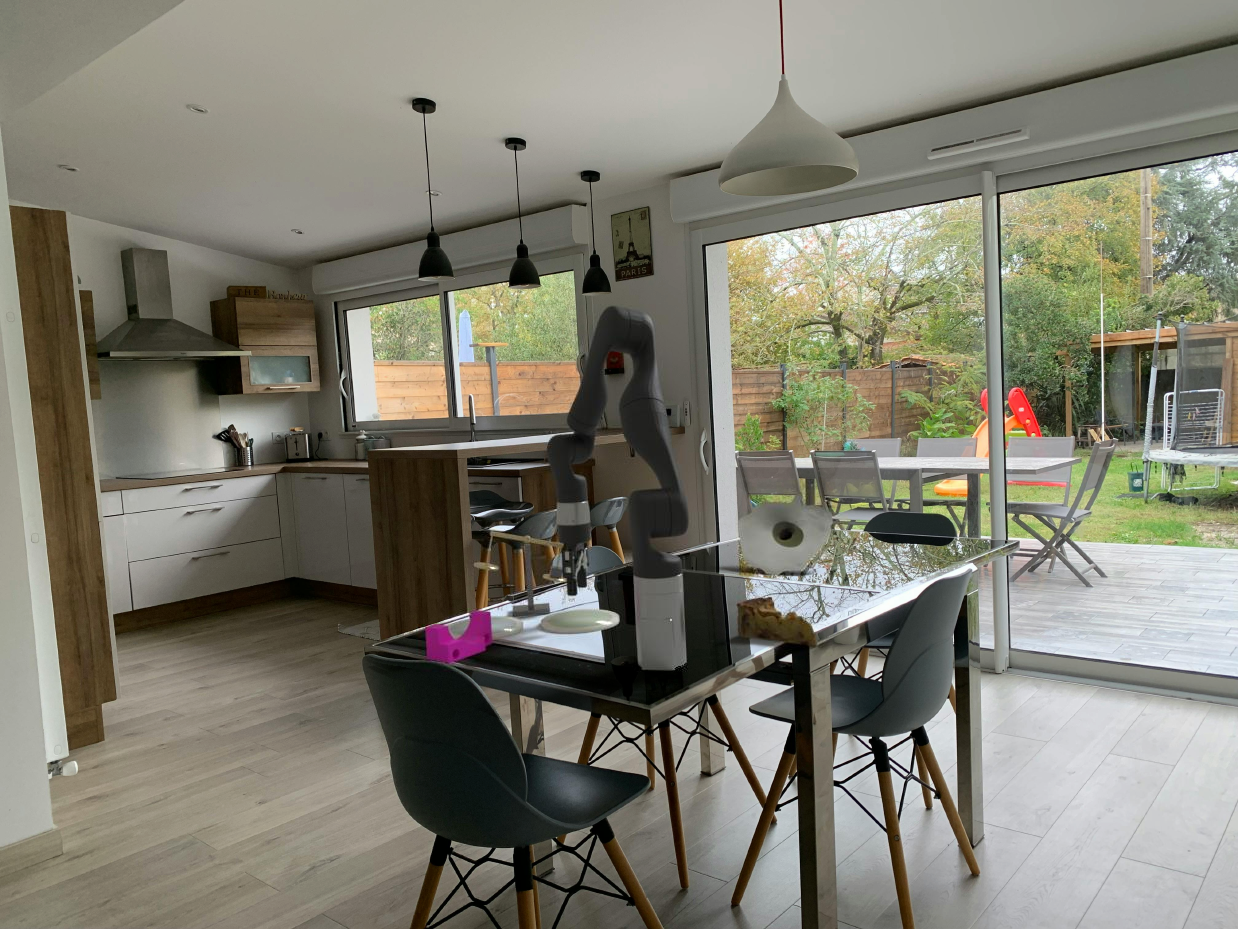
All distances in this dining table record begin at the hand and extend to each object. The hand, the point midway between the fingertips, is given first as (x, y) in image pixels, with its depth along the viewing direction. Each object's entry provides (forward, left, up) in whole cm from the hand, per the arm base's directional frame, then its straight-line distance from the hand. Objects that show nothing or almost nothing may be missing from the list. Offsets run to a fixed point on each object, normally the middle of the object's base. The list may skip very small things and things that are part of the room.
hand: (577, 591), depth 201 cm
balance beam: (+11, +15, +10) cm, 21 cm away
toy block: (-24, +18, -8) cm, 31 cm away
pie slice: (-12, -46, -8) cm, 49 cm away
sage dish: (0, 0, -8) cm, 8 cm away
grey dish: (-7, +21, -8) cm, 23 cm away
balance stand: (+11, +15, -8) cm, 20 cm away
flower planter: (+66, -57, -2) cm, 87 cm away
